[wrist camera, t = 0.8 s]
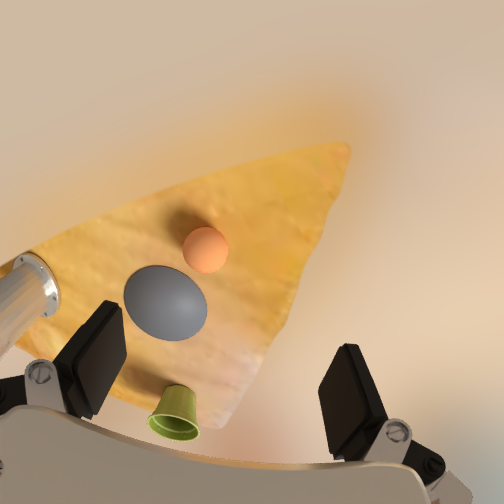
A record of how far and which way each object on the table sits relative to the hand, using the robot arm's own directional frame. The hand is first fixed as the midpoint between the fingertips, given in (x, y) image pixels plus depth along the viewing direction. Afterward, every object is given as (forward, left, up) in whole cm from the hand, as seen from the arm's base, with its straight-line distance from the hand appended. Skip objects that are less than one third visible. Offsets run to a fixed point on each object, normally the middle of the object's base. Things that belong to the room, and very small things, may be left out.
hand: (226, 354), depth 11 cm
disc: (-17, -2, -25) cm, 30 cm away
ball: (-5, 0, -22) cm, 23 cm away
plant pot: (-31, -17, -25) cm, 44 cm away
